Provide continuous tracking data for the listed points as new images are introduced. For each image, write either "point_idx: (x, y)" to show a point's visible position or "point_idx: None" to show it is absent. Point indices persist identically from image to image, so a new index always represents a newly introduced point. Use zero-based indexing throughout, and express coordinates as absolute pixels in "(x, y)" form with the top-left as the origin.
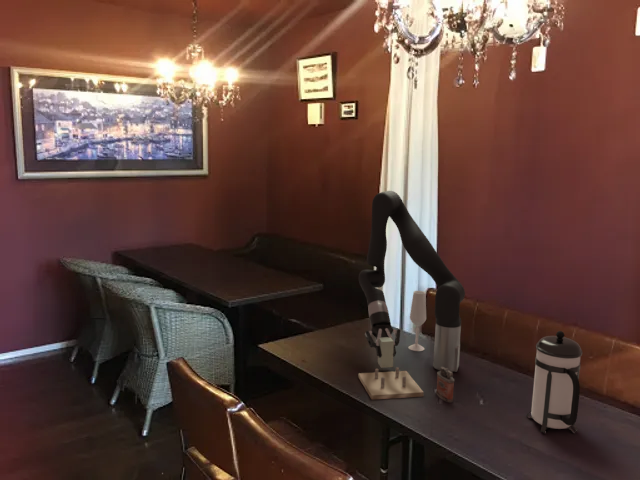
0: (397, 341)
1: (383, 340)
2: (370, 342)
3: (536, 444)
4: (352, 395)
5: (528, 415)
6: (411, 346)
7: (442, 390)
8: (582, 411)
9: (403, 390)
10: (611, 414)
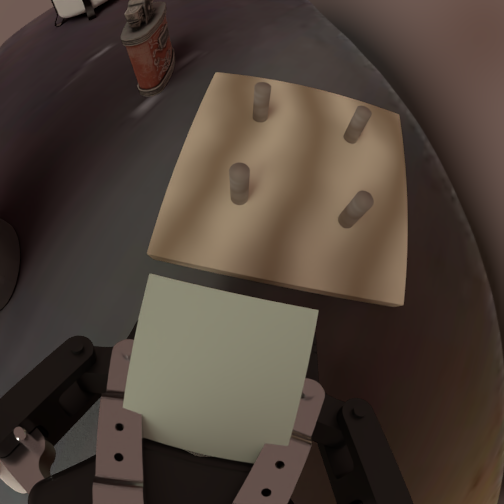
0: (77, 349)
1: (272, 352)
2: (374, 429)
3: None
4: (441, 171)
5: (89, 18)
6: (16, 480)
7: (167, 47)
8: (21, 43)
9: (279, 96)
10: (10, 42)
